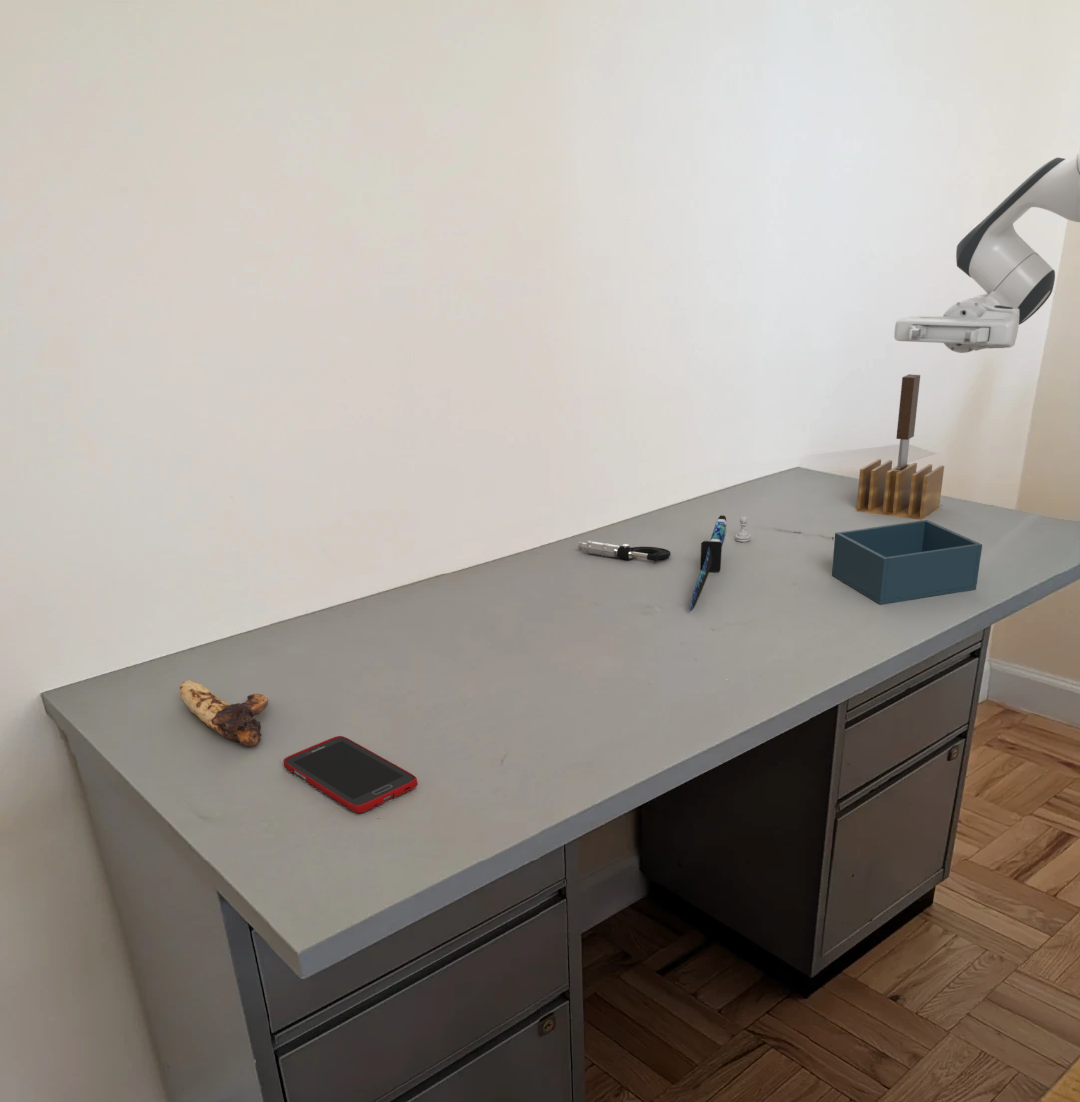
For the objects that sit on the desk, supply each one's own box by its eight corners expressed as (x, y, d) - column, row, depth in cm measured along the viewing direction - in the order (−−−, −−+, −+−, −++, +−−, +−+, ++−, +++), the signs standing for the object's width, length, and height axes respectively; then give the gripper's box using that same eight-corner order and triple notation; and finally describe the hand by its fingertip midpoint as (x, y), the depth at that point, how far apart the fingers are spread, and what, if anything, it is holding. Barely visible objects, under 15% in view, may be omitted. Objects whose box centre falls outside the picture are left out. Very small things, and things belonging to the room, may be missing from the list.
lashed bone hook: (306, 736, 118) (237, 686, 131) (301, 699, 116) (232, 651, 129) (229, 762, 113) (165, 707, 126) (222, 723, 111) (158, 671, 123)
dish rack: (852, 517, 181) (856, 470, 177) (874, 503, 187) (879, 457, 184) (921, 526, 174) (926, 477, 170) (941, 511, 181) (947, 464, 177)
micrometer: (678, 554, 168) (678, 538, 167) (656, 566, 163) (656, 551, 162) (599, 541, 176) (599, 527, 175) (576, 553, 171) (576, 538, 170)
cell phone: (358, 816, 101) (357, 808, 101) (280, 767, 111) (279, 759, 110) (421, 786, 106) (420, 778, 105) (341, 741, 115) (340, 733, 115)
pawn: (733, 541, 172) (734, 518, 170) (736, 537, 174) (736, 513, 172) (749, 542, 171) (750, 518, 169) (751, 537, 173) (752, 514, 172)
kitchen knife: (888, 509, 180) (901, 377, 170) (895, 504, 182) (909, 374, 172) (900, 510, 178) (913, 377, 168) (906, 506, 181) (921, 374, 171)
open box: (922, 562, 158) (926, 519, 155) (976, 589, 147) (982, 544, 144) (831, 575, 155) (834, 532, 152) (879, 604, 144) (884, 558, 141)
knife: (717, 538, 170) (717, 512, 167) (736, 539, 169) (736, 513, 166) (672, 625, 146) (670, 597, 144) (693, 627, 145) (692, 598, 143)
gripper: (911, 305, 190) (882, 314, 181) (1029, 308, 179) (1005, 318, 169) (908, 341, 193) (879, 352, 184) (1023, 346, 182) (999, 358, 172)
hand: (940, 336), depth 176 cm, fingers open, 8 cm apart
